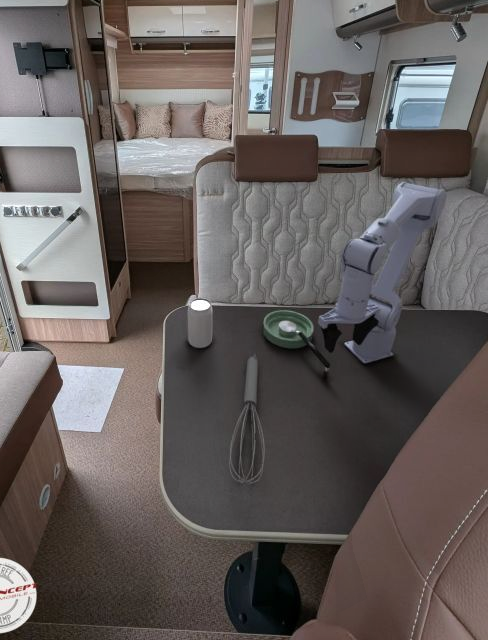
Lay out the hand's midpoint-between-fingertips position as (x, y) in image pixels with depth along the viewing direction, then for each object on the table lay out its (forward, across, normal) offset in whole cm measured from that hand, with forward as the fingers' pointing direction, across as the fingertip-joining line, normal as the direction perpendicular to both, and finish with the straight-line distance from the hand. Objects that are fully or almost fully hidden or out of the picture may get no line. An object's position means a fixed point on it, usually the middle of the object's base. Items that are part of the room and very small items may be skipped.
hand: (342, 346), depth 81 cm
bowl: (+10, +2, -19) cm, 22 cm away
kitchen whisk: (+11, +24, +2) cm, 26 cm away
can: (+11, +26, -24) cm, 37 cm away
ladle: (+10, +2, -11) cm, 15 cm away
